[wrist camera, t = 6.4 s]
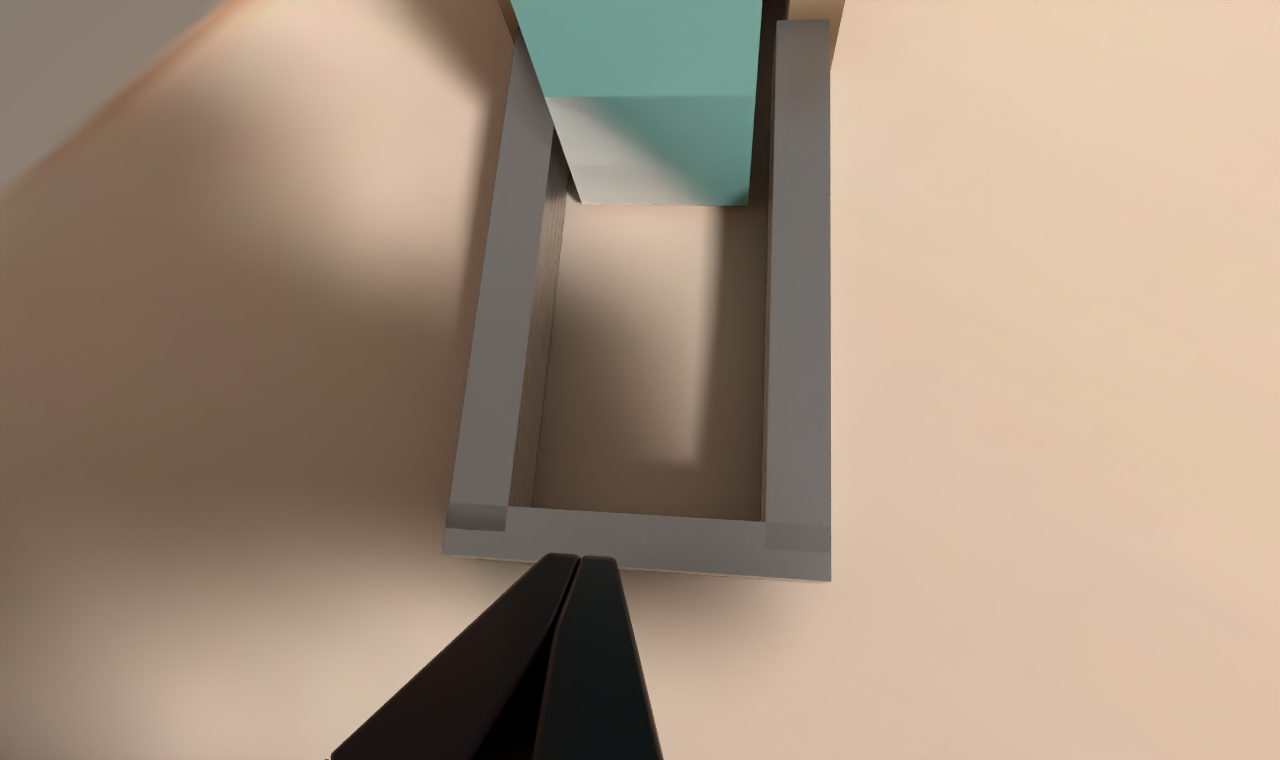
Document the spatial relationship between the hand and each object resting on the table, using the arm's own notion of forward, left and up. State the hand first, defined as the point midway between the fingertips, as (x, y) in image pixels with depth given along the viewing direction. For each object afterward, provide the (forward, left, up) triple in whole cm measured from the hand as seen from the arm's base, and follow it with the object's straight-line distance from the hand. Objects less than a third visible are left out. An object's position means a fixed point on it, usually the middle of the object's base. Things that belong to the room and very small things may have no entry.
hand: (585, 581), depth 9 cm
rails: (+4, +4, -7) cm, 9 cm away
